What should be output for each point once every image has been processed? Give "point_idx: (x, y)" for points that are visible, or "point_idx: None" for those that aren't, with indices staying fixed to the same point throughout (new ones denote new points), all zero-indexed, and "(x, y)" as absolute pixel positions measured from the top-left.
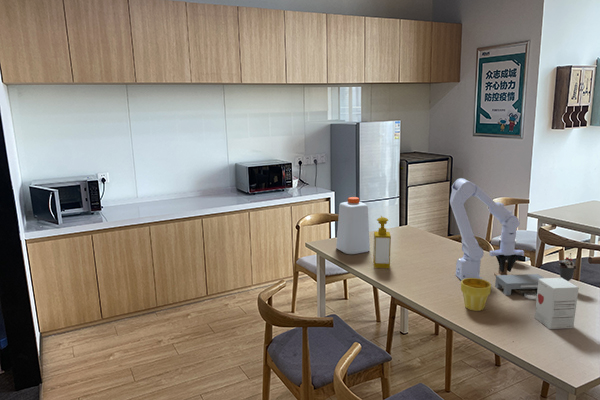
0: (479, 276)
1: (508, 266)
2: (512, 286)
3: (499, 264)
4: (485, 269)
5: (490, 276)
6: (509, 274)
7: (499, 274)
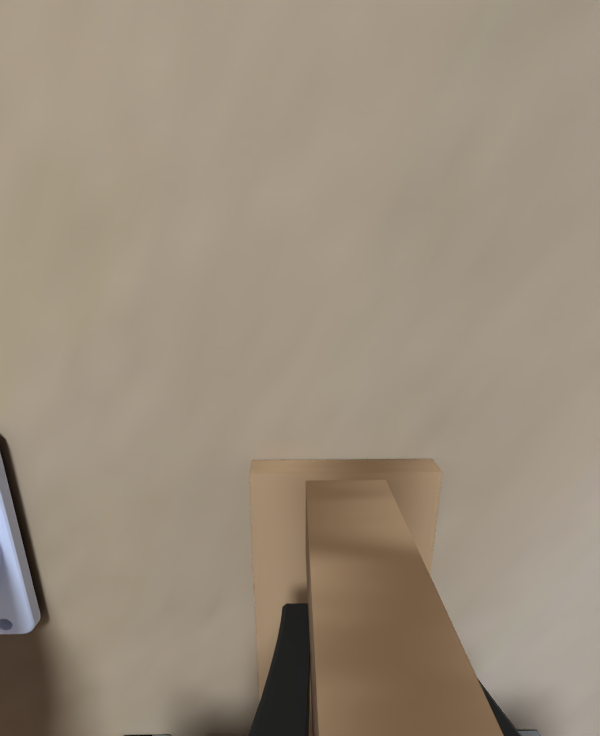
0: (8, 555)
1: None
2: None
3: (259, 733)
4: (213, 247)
5: (179, 509)
6: (425, 537)
7: (292, 530)
